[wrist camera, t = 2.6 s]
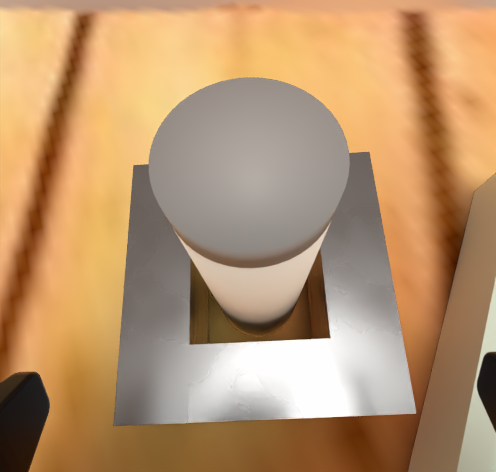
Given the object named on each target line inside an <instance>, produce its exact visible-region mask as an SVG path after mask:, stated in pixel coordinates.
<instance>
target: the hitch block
mask: <svg viewBox="0 0 496 472" xmlns="http://www.w3.org/2000/svg"><path fill="white" fill-rule="evenodd" d="M349 161H350V166H349V176H348V180H347V184H346V187H345V190H344V192H343V194H342V197H341V199H340V202H339V204H338V206H337V209H336V211H335V213H334V216H333V218H332V220H331V223H330V225H329V227H328V230H327V232H326V234H325V237H324V239H323V242H322V244H321V246H320V249H319V251H318V253H317V256H316V258H315V260H314V263H313V265H312V267H311V270H310V272H309V274H308V277H307V289H308V299H309V309H310V319H311V329H312V339H304V340H283V341H261V342H239V343H217V344H209V329H208V286H207V284H206V282H205V281H204V279H203V277H202V276H201V274H200V272H199V271H198V269H197V267H196V266H195V264H194V262H193V261H192V259H191V257H190V256H189V254H188V252H187V251H186V249H185V247H184V246H183V244H182V242H181V241H180V239H179V237H178V236H177V234H176V232H175V231H174V229H173V227H172V226H171V224H170V222H169V221H168V219H167V217H166V216H165V214H164V212H163V211H162V209H161V207H160V206H159V204H158V202H157V200H156V198H155V196H154V193H153V190H152V187H151V183H150V177H149V164H148V165H134V166H133V179H132V192H131V205H130V218H129V231H128V244H127V257H126V270H125V283H124V296H123V309H122V322H121V334H120V347H119V360H118V373H117V386H116V399H115V412H114V425H113V426H126V425H151V424H175V423H199V422H224V421H248V420H273V419H297V418H321V417H346V416H370V415H394V414H417V413H416V408H415V402H414V397H413V391H412V386H411V380H410V374H409V369H408V363H407V358H406V352H405V347H404V341H403V336H402V330H401V325H400V319H399V314H398V308H397V303H396V297H395V291H394V286H393V280H392V275H391V269H390V264H389V258H388V253H387V247H386V242H385V236H384V231H383V225H382V220H381V214H380V208H379V203H378V197H377V192H376V186H375V181H374V175H373V170H372V164H371V159H370V153H369V152H360V153H349Z"/></svg>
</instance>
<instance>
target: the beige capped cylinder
mask: <svg viewBox="0 0 496 472" xmlns="http://www.w3.org/2000/svg"><path fill="white" fill-rule="evenodd" d="M349 166H350V161H349V150H348V145H347V141H346V138H345V136H344V133H343V130H342V129H341V127H340V125H339V123H338V121H337V120H336V118H335V117H334V116H333V114H332V113H331V112H330V111H329V110H328V109H327V108H326V107H325V106H324V105H323V104H322V103H321V102H320V101H319V100H317V99H316V98H315V97H314V96H312V95H311V94H309V93H307V92H306V91H304V90H302V89H300V88H298V87H295V86H293V85H291V84H288V83H285V82H282V81H277V80H272V79H266V78H237V79H231V80H226V81H221V82H218V83H215V84H212V85H209V86H207V87H205V88H203V89H200V90H198V91H197V92H195V93H193V94H192V95H190V96H188V97H187V98H186V99H184V100H183V101H182V102H180V103H179V104H178V105H177V106H176V107H175V108H174V109H173V110H172V111H171V112H170V113H169V114H168V116H167V117H166V118H165V119H164V121H163V122H162V124H161V126H160V127H159V129H158V131H157V133H156V135H155V137H154V140H153V143H152V146H151V150H150V156H149V177H150V183H151V187H152V190H153V193H154V196H155V198H156V200H157V202H158V204H159V206H160V207H161V209H162V211H163V212H164V214H165V216H166V217H167V219H168V221H169V222H170V224H171V226H172V227H173V229H174V231H175V232H176V234H177V236H178V237H179V239H180V241H181V242H182V244H183V246H184V247H185V249H186V251H187V252H188V254H189V256H190V257H191V259H192V261H193V262H194V264H195V266H196V267H197V269H198V271H199V272H200V274H201V276H202V277H203V279H204V281H205V282H206V284H207V286H208V287H209V289H210V291H211V292H212V294H213V296H214V297H215V299H216V301H217V302H218V304H219V306H220V307H221V309H222V311H223V312H224V314H225V316H226V317H227V319H228V320H229V322H230V323H231V324H232V325H233V326H234V327H235V328H236V329H237V330H239V331H240V332H242V333H244V334H247V335H251V336H266V335H270V334H272V333H275V332H276V331H278V330H280V329H281V328H282V327H283V326H284V325H285V324H286V323H287V322H288V320H289V318H290V317H291V314H292V312H293V310H294V307H295V305H296V303H297V300H298V298H299V296H300V293H301V291H302V289H303V286H304V284H305V282H306V279H307V277H308V274H309V272H310V270H311V267H312V265H313V263H314V260H315V258H316V256H317V253H318V251H319V249H320V246H321V244H322V242H323V239H324V237H325V234H326V232H327V230H328V227H329V225H330V223H331V220H332V218H333V216H334V213H335V211H336V209H337V206H338V204H339V202H340V199H341V197H342V194H343V192H344V190H345V187H346V184H347V180H348V176H349Z"/></svg>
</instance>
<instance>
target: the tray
mask: <svg viewBox="0 0 496 472" xmlns="http://www.w3.org/2000/svg"><path fill="white" fill-rule="evenodd" d="M488 352H496V173H495V174H494V175H493V176H491V177H490V178H489V179H488V180H487V181H486V182H485V183H484V184H482V185H481V186H480V187H479V188H478V189H477V190H476V191H475V192H474V196H473V200H472V204H471V208H470V212H469V217H468V221H467V225H466V229H465V233H464V238H463V242H462V246H461V250H460V254H459V259H458V263H457V267H456V271H455V275H454V280H453V284H452V288H451V292H450V296H449V301H448V305H447V309H446V313H445V317H444V322H443V326H442V330H441V334H440V338H439V343H438V347H437V351H436V355H435V359H434V363H433V368H432V372H431V376H430V380H429V384H428V389H427V393H426V397H425V401H424V405H423V410H422V414H421V418H420V422H419V426H418V431H417V435H416V439H415V443H414V447H413V452H412V456H411V460H410V464H409V468H408V472H496V432H495V430H494V428H493V426H492V423H491V421H490V419H489V417H488V415H487V412H486V410H485V408H484V406H483V404H482V401H481V399H480V397H479V394H478V391H477V379H478V376H479V372H480V368H481V364H482V360H483V357H484V355H485V354H486V353H488Z"/></svg>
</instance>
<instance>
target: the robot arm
mask: <svg viewBox="0 0 496 472" xmlns="http://www.w3.org/2000/svg"><path fill="white" fill-rule="evenodd" d="M477 391H478V394H479V397H480V399H481V401H482V404H483V406H484V408H485V410H486V412H487V415H488V417H489V419H490V421H491V423H492V426H493V428H494V430H495V432H496V352H488V353H486V354H485V355H484V357H483V360H482V364H481V368H480V372H479V376H478V379H477ZM49 408H50V403H49V398H48V395H47V393H46V390H45V387H44V385H43V382H42V379H41V377H40V375H39V374H38V373H37V372H18V373H15V374H13V375H11V376H10V377H8V378H7V379H5V380H4V381H2V382H1V383H0V472H28V471H29V468H30V466H31V463H32V460H33V457H34V454H35V451H36V448H37V445H38V442H39V439H40V436H41V434H42V431H43V428H44V425H45V422H46V419H47V416H48V413H49Z"/></svg>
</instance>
